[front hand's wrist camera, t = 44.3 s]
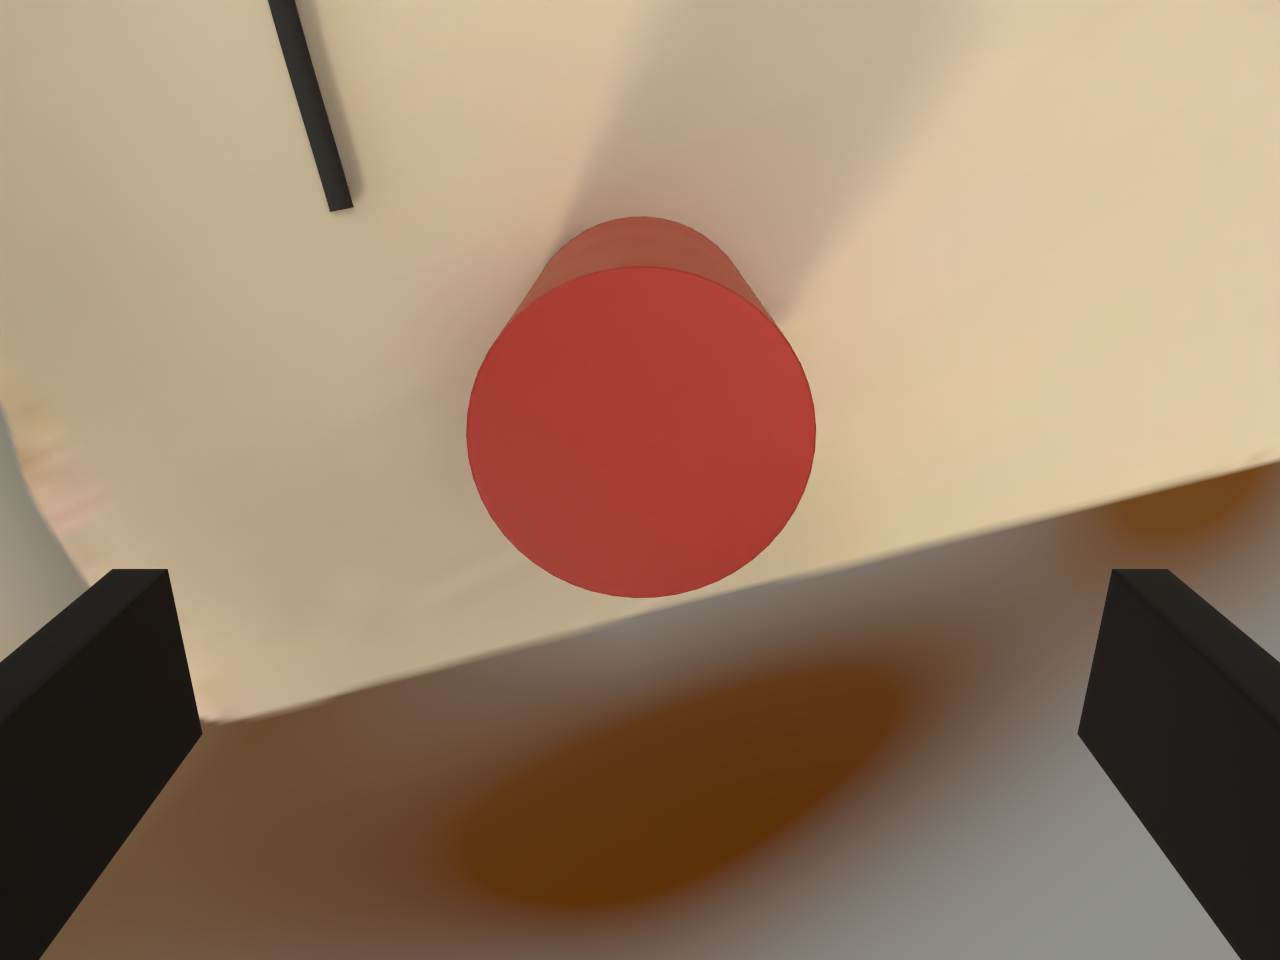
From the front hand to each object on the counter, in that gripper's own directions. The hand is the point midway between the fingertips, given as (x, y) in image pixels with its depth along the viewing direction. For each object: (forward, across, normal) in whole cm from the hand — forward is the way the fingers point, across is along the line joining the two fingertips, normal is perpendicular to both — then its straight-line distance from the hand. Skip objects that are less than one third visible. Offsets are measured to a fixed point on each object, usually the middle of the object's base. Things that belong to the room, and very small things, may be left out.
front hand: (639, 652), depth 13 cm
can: (+21, 0, 0) cm, 21 cm away
